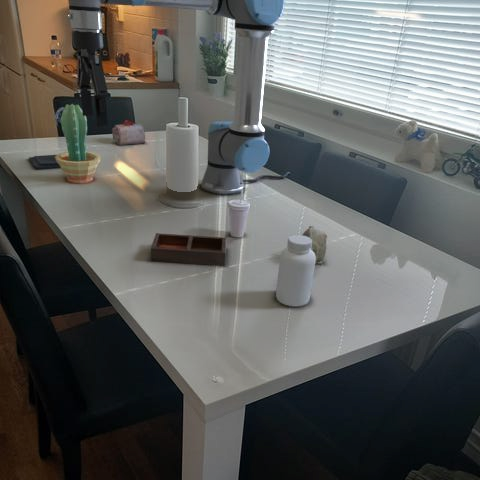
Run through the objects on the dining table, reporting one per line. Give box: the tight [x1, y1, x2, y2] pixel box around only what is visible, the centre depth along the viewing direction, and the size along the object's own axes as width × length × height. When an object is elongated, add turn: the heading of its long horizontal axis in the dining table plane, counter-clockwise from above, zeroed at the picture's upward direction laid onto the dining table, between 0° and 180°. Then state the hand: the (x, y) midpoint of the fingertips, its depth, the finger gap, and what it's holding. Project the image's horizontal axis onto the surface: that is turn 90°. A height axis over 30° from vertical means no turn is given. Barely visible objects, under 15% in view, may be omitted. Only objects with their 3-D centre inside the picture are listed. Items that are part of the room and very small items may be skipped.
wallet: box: [28, 154, 61, 170], centre depth 196 cm, size 20×2×15 cm
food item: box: [111, 119, 146, 146], centre depth 227 cm, size 14×8×10 cm, turn 123°
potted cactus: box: [54, 103, 101, 184], centre depth 174 cm, size 15×15×25 cm
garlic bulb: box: [301, 225, 328, 264], centre depth 134 cm, size 9×8×10 cm
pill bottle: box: [275, 234, 316, 307], centre depth 113 cm, size 8×8×15 cm
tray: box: [150, 232, 227, 266], centre depth 132 cm, size 10×19×4 cm, turn 90°
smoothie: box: [227, 187, 251, 238], centre depth 144 cm, size 6×6×14 cm
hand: (94, 120), depth 137 cm, fingers open, 13 cm apart
